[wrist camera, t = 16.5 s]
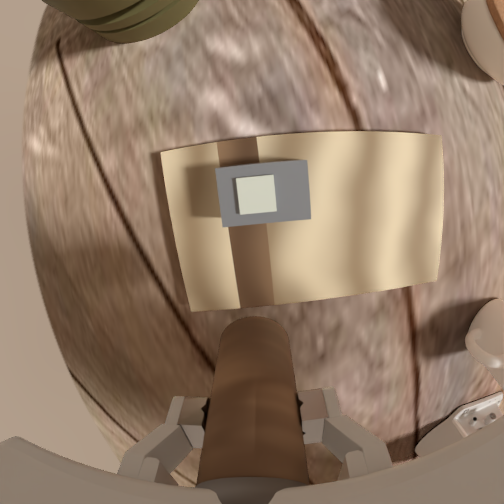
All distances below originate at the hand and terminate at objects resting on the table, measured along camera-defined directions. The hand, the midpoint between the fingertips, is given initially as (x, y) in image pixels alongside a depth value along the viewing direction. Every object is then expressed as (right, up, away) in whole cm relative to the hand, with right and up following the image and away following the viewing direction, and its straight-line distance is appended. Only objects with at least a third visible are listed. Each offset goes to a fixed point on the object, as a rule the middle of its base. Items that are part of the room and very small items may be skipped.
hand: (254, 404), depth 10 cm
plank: (+6, +9, +13) cm, 17 cm away
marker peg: (0, +1, +4) cm, 4 cm away
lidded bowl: (+26, +30, +6) cm, 40 cm away
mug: (+30, -3, +17) cm, 35 cm away
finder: (+1, +11, +11) cm, 15 cm away
